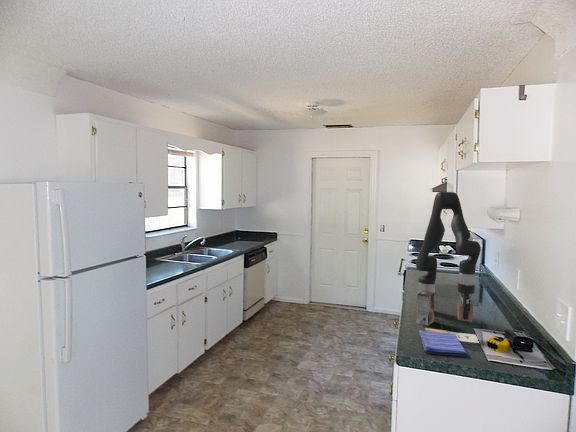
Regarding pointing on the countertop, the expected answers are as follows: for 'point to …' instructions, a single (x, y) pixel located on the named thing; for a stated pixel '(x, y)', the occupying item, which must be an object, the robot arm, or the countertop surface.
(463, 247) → the robot arm
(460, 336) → the tile
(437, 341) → the dish towel
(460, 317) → the walnut block
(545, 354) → the countertop surface
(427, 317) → the coffee box
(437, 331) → the coaster
